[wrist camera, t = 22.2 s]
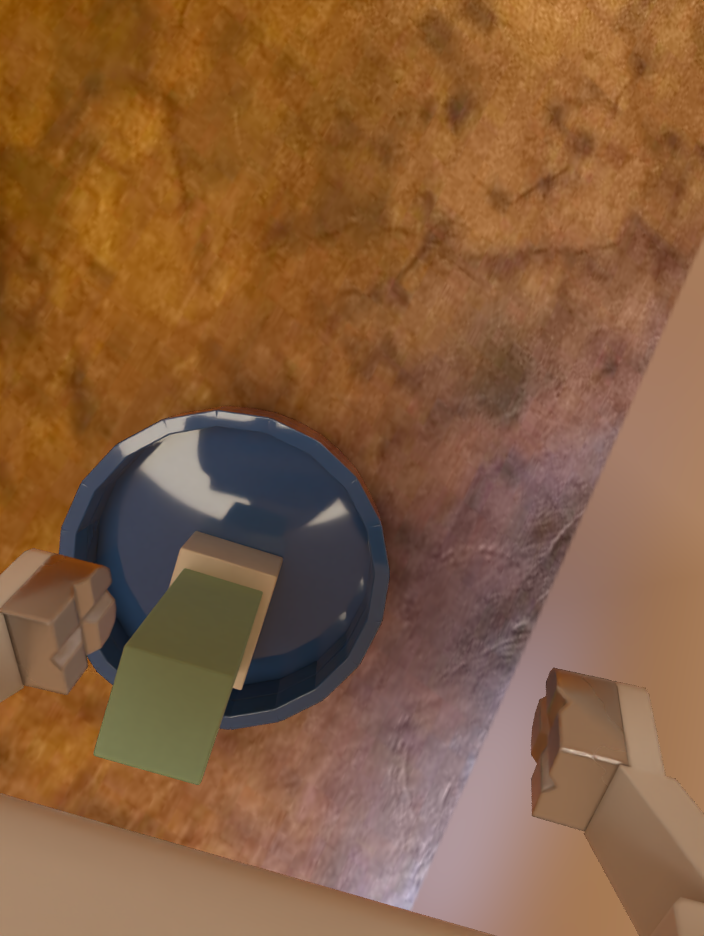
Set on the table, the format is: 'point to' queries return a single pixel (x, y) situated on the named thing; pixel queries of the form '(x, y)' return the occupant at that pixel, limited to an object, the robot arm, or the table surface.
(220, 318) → the table surface
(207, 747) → the green block on base
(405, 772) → the table surface
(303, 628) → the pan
